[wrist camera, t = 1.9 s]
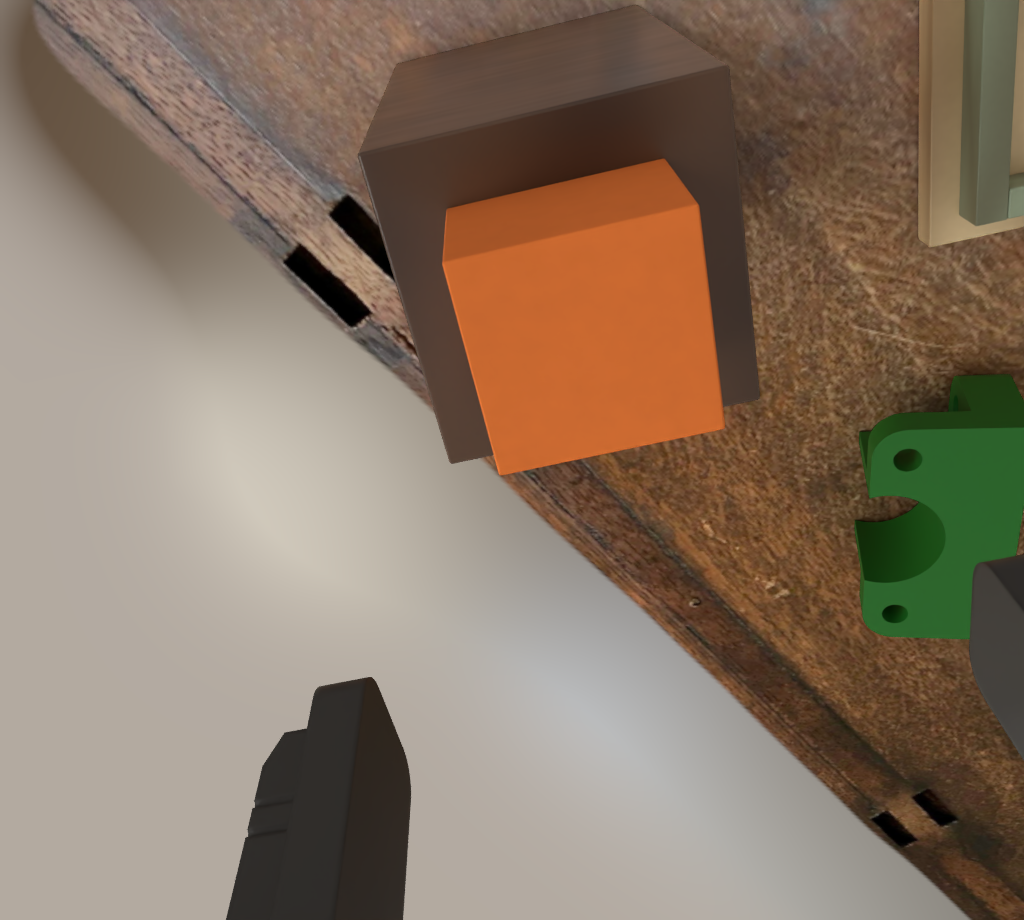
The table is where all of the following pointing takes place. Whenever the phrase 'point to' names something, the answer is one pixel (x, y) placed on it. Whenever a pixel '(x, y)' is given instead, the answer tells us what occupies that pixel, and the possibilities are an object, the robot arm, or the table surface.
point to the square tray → (970, 119)
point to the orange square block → (586, 315)
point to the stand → (551, 170)
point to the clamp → (941, 507)
